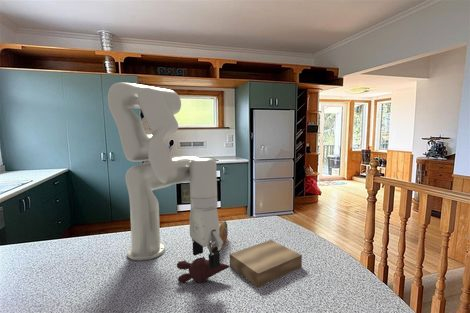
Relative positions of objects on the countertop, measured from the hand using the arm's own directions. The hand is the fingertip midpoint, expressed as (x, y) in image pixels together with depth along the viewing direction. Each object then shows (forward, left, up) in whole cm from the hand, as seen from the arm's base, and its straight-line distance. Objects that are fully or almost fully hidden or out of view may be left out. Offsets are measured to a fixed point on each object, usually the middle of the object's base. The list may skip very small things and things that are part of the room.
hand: (205, 260), depth 73 cm
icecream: (-1, -1, -6) cm, 6 cm away
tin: (-16, +15, -6) cm, 23 cm away
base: (+5, +19, -6) cm, 20 cm away
